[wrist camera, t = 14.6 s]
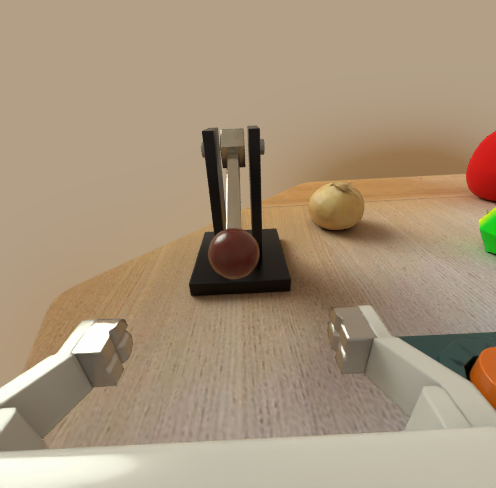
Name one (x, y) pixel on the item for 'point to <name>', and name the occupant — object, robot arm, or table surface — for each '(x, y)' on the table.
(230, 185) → the lever
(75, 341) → the robot arm
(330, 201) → the onion
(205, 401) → the table surface
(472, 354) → the button box
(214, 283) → the bracket
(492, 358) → the button
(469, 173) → the tomato
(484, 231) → the apple
